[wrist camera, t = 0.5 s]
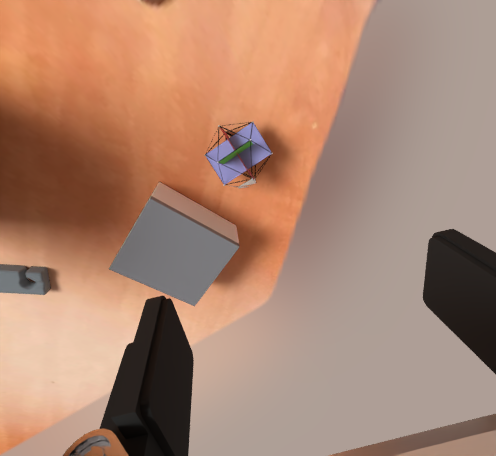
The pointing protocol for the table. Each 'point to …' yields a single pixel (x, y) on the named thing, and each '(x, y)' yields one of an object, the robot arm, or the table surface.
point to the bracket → (24, 279)
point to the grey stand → (176, 246)
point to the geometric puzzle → (238, 154)
